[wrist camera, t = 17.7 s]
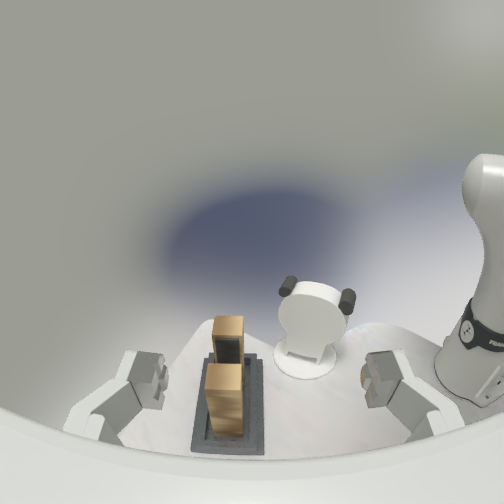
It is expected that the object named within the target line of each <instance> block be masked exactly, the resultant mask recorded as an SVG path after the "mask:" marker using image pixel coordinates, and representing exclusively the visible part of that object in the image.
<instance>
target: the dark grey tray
mask: <svg viewBox="0 0 504 504" xmlns="http://www.w3.org/2000/svg"><path fill="white" fill-rule="evenodd" d="M208 363H215V357H214V353H209V358H204V364H203V370H202V376H201V382H200V389H199V395H198V402H197V408H196V415H195V421H194V428H193V435H192V442H191V452H198V453H211V454H230V455H264V418H263V365H262V359H257V354H245V353H244V389H242V393H243V437H216V436H214V433H213V429H212V424H211V419H210V415H209V410H208V405H207V400H206V395H205V390H204V388H205V381H206V374H207V366H208Z"/></svg>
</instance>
